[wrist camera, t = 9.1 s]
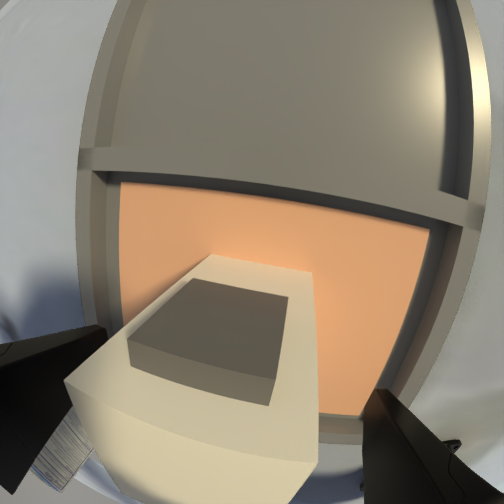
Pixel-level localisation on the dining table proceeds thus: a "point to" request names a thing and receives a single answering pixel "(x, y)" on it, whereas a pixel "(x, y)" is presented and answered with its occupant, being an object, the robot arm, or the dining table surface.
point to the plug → (209, 389)
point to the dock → (293, 170)
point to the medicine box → (63, 453)
